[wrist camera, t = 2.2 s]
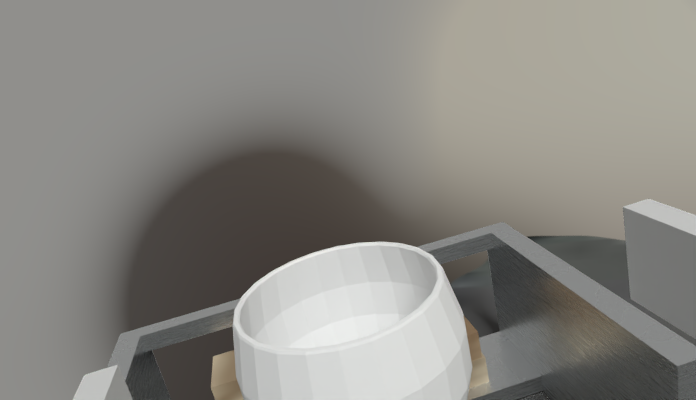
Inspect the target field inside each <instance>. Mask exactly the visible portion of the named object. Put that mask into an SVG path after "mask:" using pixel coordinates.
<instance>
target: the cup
mask: <svg viewBox="0 0 696 400" xmlns="http://www.w3.org/2000/svg"><path fill="white" fill-rule="evenodd" d="M233 338H234V354H235V370H236V378H237V381H238V384H239V387H240V390H241V393H242V396H243V399H244V400H467V398H468V392H469V386H470V379H471V373H472V362H471V356H470V350H469V344H468V338H467V332H466V326H465V321H464V316H463V312H462V309H461V307H460V305H459V303H458V301H457V298H456V296H455V294H454V292H453V290H452V288H451V285H450V283H449V281H448V279H447V277H446V275H445V272H444V270H443V268H442V266H441V265H440V264H439V263H438V262H437V260H436V259H435V258H434V257H433V256H432V255H431V254H429V253H427V252H425V251H424V250H422V249H420V248H418V247H414V246H409V245H406V244H402V243H391V242H365V243H355V244H349V245H342V246H336V247H333V248H329V249H325V250H321V251H318V252H314V253H311V254H308V255H306V256H303V257H301V258H298V259H296V260H293V261H291V262H289V263H287V264H285V265H283V266H281V267H279V268H277V269H275V270H273V271H272V272H270V273H269V274H267V275H266V276H264V277H263V278H261V279H260V280H259V281H257V282H256V283H255V284H254V285H253V286H252V287H251V288H250V289H249V290H248V291H247V292H246V293H245V294H244V295H243V296H242V297H241V299H240V301H239V303H238V304H237V306H236V308H235V310H234V317H233Z"/></svg>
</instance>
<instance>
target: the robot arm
mask: <svg viewBox="0 0 696 400" xmlns="http://www.w3.org/2000/svg"><path fill="white" fill-rule="evenodd" d="M623 214H624V226H625V238H626V250H627V262H628V274H629V286H630V298H631V299H632V300H633V301H635V302H637V303H638V304H640V305H641V306H643V307H645V308H646V309H648V310H650V311H651V312H653V313H654V314H656V315H658V316H659V317H661V318H662V319H664V320H666V321H667V322H669V323H670V324H672V325H674V326H675V327H677V328H679V329H680V330H682V331H683V332H685V333H687V334H688V335H690V336H691V337H693V338H695V339H696V215H694V214H691V213H688V212H685V211H682V210H679V209H677V208H674V207H671V206H668V205H665V204H662V203H660V202H657V201H653V200H651V199H646V200H643V201H640V202H637V203H634V204H630V205H627V206H624V207H623ZM73 400H133V399H132V396H131V394H130V392H129V389H128V387H127V385H126V382H125V380H124V378H123V375H122V373H121V371H120V368H119V366H118V365H115V366H112V367H108V368H105V369H102V370H99V371H95V372H93V373H89V374H86V375H84V377H83V379H82V381H81V383H80V385H79V387H78V389H77V392H76V394H75V396H74V398H73Z"/></svg>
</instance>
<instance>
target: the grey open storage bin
mask: <svg viewBox="0 0 696 400" xmlns="http://www.w3.org/2000/svg"><path fill="white" fill-rule="evenodd" d="M418 248H420V249H422V250H424V251H425V252H427V253H429V254H431V255H432V256H433V257H434V258H435V259H436V260H437V262H438V263H439V264H442V263H445V262H449V261H452V260H456V259H459V258H462V257H465V256H469V255H472V254H475V253H479V252H482V251H486V250H487V252H488V258H489V265H490V271H491V278H492V285H493V291H494V298H495V304H496V311H497V317H498V324H499V332H496V333H493V334H490V335H487V336H483V337H480V338H479V342H480V348H481V352H482V354H483V355H484V356H485V359H486V365H487V371H488V377H489V382H487V383H484V384H481V385H478V386H475V387H472V388H469V392H468V398H467V400H517V399H520V398H523V397H526V396H529V395H532V394H535V393H538V392H541V391H544V392H545V393H546V394H547V395H548V396H549V398H550V399H551V400H696V346H695V345H693V344H692V343H690V342H688V341H687V340H685V339H684V338H682V337H681V336H679V335H678V334H676V333H674V332H673V331H671V330H670V329H668V328H667V327H665V326H664V325H662V324H661V323H659V322H657V321H656V320H654V319H653V318H651V317H650V316H648V315H647V314H645V313H643V312H642V311H640V310H639V309H637V308H636V307H634V306H633V305H631V304H630V303H628V302H626V301H625V300H623V299H622V298H620V297H619V296H617V295H616V294H614V293H612V292H611V291H609V290H608V289H606V288H605V287H603V286H602V285H600V284H599V283H597V282H595V281H594V280H592V279H591V278H589V277H588V276H586V275H585V274H583V273H581V272H580V271H578V270H577V269H575V268H574V267H572V266H571V265H569V264H568V263H566V262H564V261H563V260H561V259H560V258H558V257H557V256H555V255H554V254H552V253H550V252H549V251H547V250H546V249H544V248H543V247H541V246H540V245H538V244H537V243H535V242H533V241H532V240H530V239H529V238H527V237H526V236H524V235H522V234H521V233H519V232H518V231H516V230H515V229H513V228H512V227H510V226H509V225H507V224H506V223H504V222H501V223H497V224H494V225H490V226H487V227H484V228H480V229H477V230H473V231H470V232H466V233H463V234H460V235H456V236H453V237H449V238H446V239H443V240H439V241H436V242H432V243H429V244H425V245H422V246H419V247H418ZM239 301H240V299H238V300H235V301H231V302H227V303H224V304H221V305H217V306H214V307H210V308H207V309H203V310H200V311H197V312H193V313H190V314H187V315H183V316H180V317H176V318H173V319H170V320H166V321H163V322H159V323H156V324H152V325H149V326H146V327H142V328H139V329H135V330H132V331H129V332H125V333H122V334H120V336H119V338H118V341H117V343H116V346H115V348H114V351H113V353H112V356H111V358H110V361H109V363H108V366H107V368H108V367H112V366H115V365H118V366H119V368H120V371H121V373H122V375H123V378H124V380H125V382H126V385H127V387H128V389H129V392H130V394H131V396H132V399H133V400H171V398H170V395H169V392H168V390H167V387H166V385H165V382H164V380H163V377H162V374H161V372H160V369H159V367H158V364H157V362H156V359H155V356H154V354H153V351H152V350H154V349H158V348H161V347H164V346H167V345H171V344H174V343H178V342H181V341H185V340H188V339H191V338H194V337H198V336H201V335H204V334H208V333H211V332H215V331H218V330H221V329H225V328H228V327H231V326H233V317H234V310H235V308H236V306H237V304H238V303H239Z"/></svg>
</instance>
